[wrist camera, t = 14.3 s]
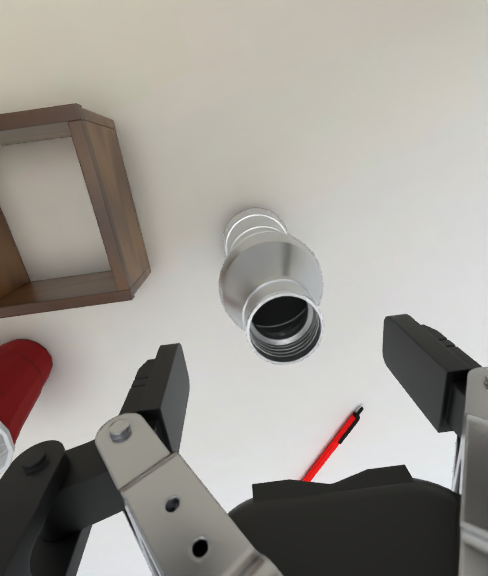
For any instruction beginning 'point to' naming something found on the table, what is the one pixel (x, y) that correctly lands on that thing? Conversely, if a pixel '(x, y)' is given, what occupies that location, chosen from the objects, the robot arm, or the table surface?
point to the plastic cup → (19, 389)
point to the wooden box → (107, 206)
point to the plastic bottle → (271, 287)
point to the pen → (334, 444)
